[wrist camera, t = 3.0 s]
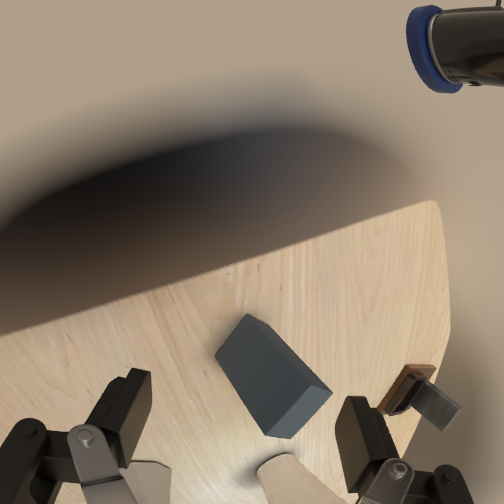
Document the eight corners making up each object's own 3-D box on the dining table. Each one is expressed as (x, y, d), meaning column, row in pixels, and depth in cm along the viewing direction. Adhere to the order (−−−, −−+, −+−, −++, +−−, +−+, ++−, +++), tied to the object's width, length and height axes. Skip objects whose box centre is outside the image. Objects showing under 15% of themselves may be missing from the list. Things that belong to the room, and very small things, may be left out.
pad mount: (405, 364, 46) (454, 401, 37) (432, 364, 52) (473, 394, 43) (374, 411, 48) (416, 451, 38) (405, 406, 54) (442, 437, 45)
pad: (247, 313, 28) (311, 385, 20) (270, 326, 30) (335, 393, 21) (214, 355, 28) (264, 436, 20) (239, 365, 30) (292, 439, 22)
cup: (309, 456, 44) (355, 511, 33) (258, 488, 42) (297, 547, 31) (292, 435, 39) (347, 502, 28) (232, 472, 37) (276, 544, 26)
